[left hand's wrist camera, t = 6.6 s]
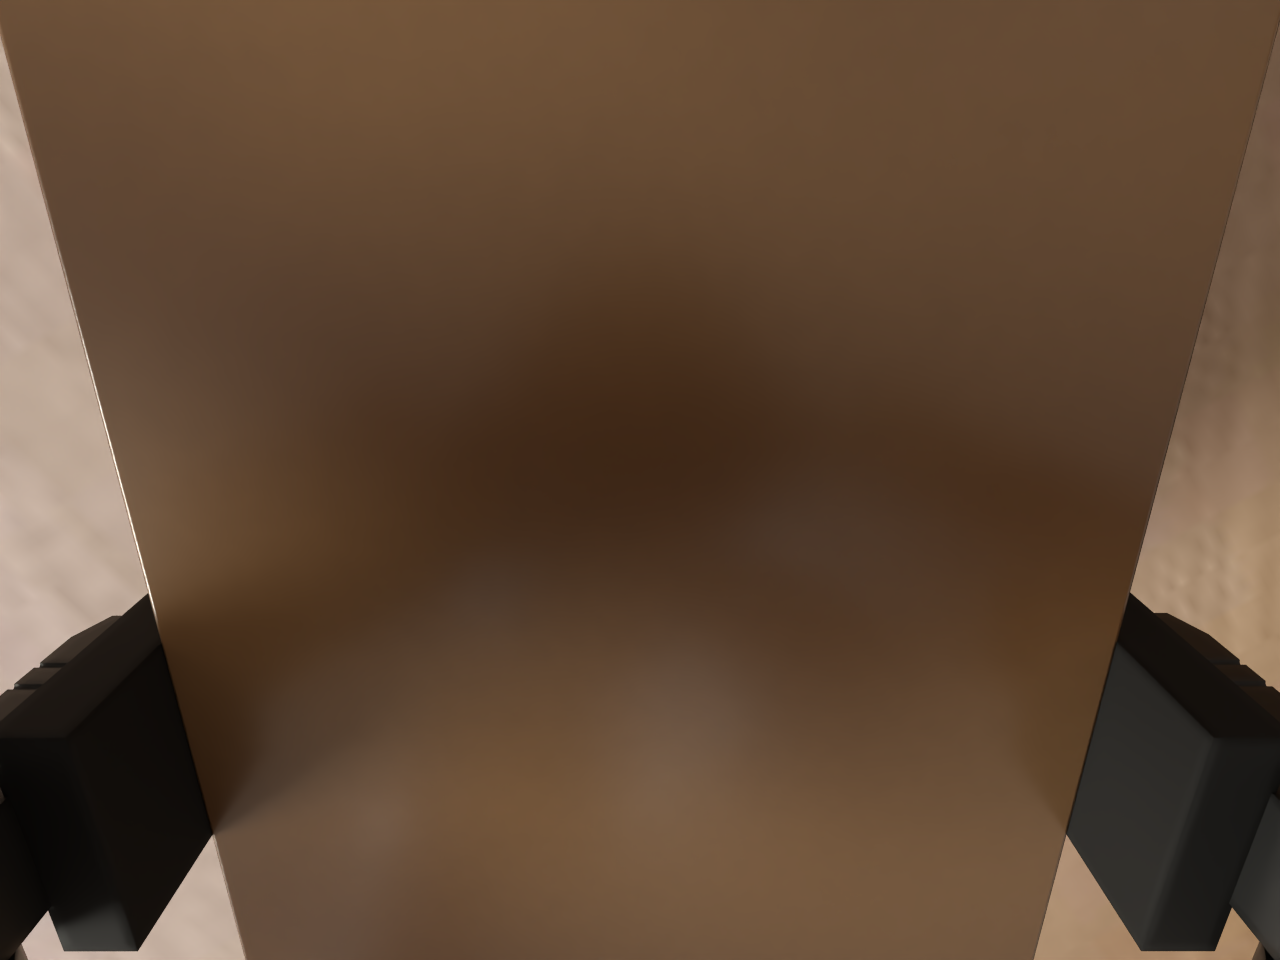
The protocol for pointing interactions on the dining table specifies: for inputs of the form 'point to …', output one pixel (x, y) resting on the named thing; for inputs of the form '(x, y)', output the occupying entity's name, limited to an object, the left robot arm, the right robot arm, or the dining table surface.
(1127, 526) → the cabinet
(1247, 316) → the dining table surface
